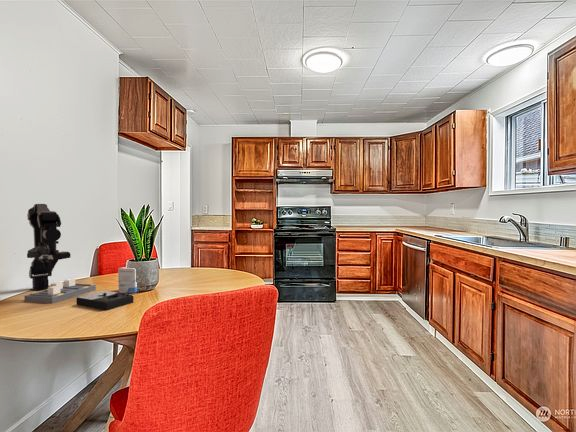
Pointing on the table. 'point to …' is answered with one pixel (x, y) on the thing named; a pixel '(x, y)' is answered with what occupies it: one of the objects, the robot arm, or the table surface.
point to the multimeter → (104, 300)
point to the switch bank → (60, 294)
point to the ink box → (127, 280)
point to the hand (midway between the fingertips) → (49, 273)
